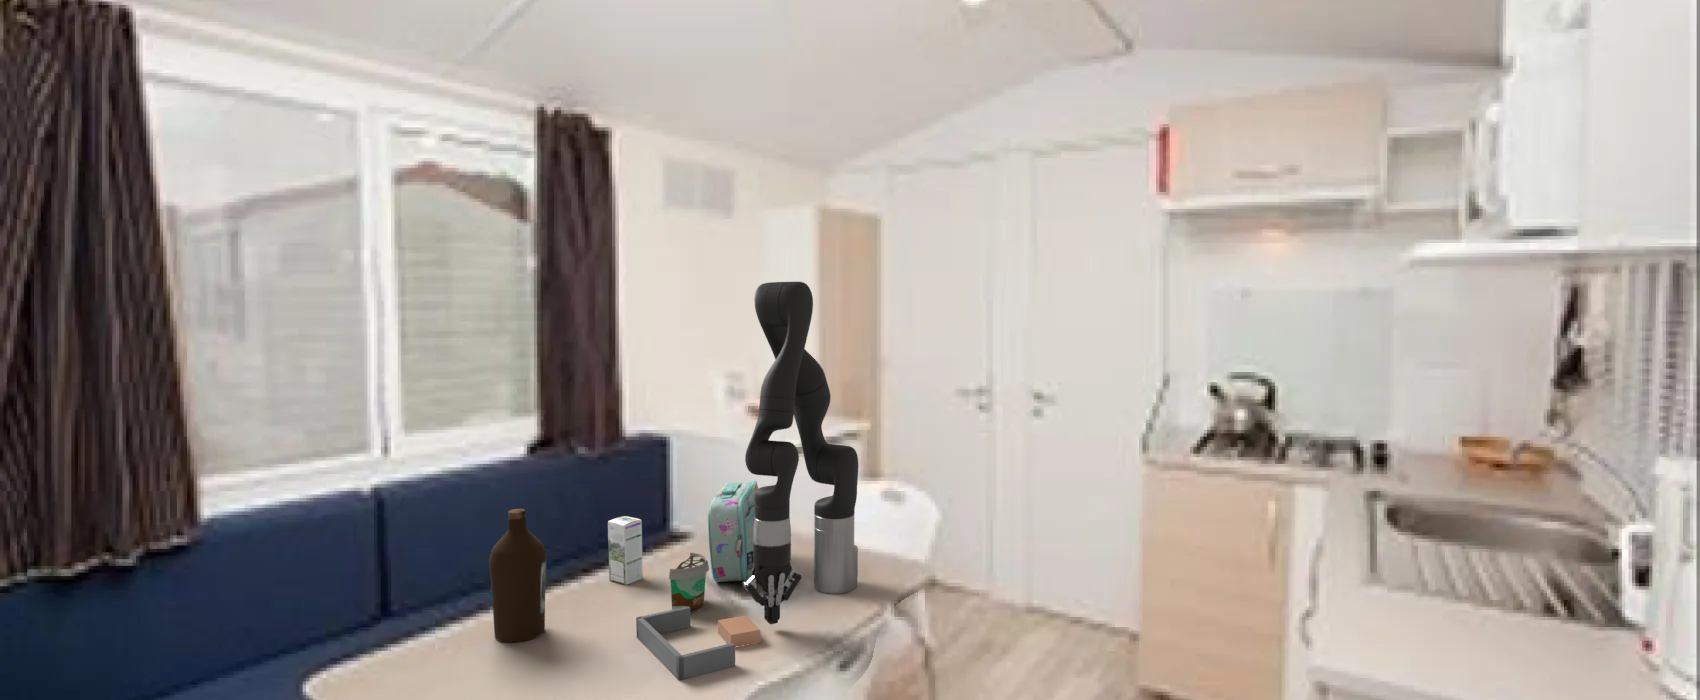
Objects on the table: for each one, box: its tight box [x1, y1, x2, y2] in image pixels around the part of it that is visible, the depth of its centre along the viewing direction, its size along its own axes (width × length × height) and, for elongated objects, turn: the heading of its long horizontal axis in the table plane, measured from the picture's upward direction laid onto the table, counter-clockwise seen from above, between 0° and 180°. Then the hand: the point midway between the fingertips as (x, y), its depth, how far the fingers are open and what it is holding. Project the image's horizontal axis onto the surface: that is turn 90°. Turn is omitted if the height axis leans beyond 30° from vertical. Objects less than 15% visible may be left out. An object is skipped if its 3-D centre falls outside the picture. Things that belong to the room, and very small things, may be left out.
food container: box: [668, 552, 710, 613], centre depth 189 cm, size 12×6×10 cm, turn 168°
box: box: [635, 606, 736, 681], centre depth 167 cm, size 11×22×4 cm, turn 33°
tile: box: [717, 614, 761, 648], centre depth 173 cm, size 6×8×3 cm
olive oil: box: [488, 508, 547, 643], centre depth 174 cm, size 11×11×25 cm
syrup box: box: [607, 515, 644, 586], centre depth 205 cm, size 6×6×14 cm
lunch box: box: [707, 480, 759, 583], centre depth 212 cm, size 27×10×21 cm, turn 179°
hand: (772, 622), depth 177 cm, fingers closed
